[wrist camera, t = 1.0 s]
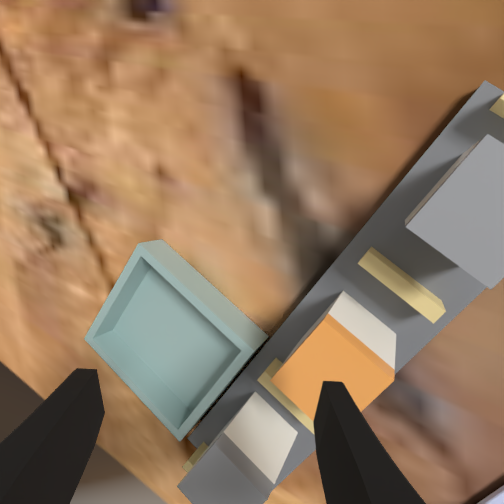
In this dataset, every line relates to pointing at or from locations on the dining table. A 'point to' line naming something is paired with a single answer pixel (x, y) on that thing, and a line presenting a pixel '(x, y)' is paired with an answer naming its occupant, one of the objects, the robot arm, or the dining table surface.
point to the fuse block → (374, 283)
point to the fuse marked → (340, 357)
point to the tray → (172, 336)
